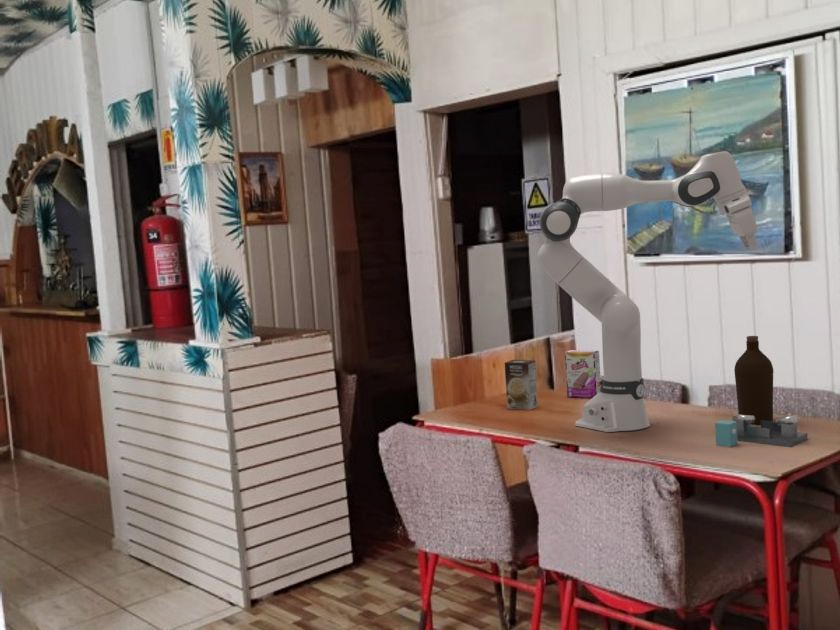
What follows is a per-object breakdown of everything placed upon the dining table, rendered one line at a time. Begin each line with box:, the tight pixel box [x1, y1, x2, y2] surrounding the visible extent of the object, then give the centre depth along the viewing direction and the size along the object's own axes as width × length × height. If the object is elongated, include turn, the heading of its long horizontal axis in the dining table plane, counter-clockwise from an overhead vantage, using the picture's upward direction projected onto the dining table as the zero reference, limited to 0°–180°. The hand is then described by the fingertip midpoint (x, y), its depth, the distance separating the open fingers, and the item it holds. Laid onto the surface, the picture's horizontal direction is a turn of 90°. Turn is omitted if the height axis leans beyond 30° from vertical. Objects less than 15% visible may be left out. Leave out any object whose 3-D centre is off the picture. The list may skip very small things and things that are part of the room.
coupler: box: [714, 419, 739, 448], centre depth 250 cm, size 5×4×6 cm
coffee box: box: [504, 359, 539, 411], centre depth 319 cm, size 9×6×16 cm
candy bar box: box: [564, 349, 602, 399], centre depth 330 cm, size 11×5×16 cm, turn 59°
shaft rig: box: [732, 413, 808, 448], centre depth 252 cm, size 18×10×7 cm, turn 43°
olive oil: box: [733, 335, 774, 426], centre depth 272 cm, size 11×11×25 cm
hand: (751, 248), depth 269 cm, fingers open, 8 cm apart
